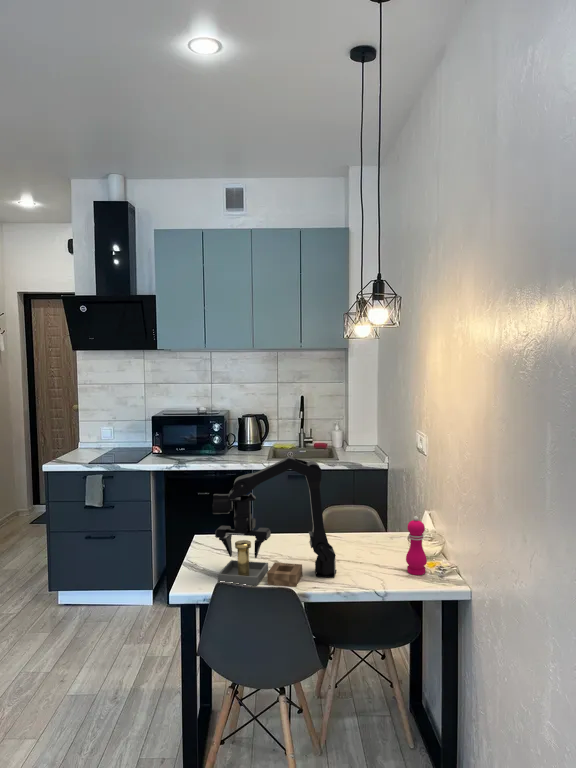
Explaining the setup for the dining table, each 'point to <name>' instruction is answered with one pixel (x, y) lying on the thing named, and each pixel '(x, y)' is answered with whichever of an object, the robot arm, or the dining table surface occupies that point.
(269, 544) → the dining table surface
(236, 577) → the charcoal tray
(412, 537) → the pepper mill
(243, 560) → the brass pin
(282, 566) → the walnut block
